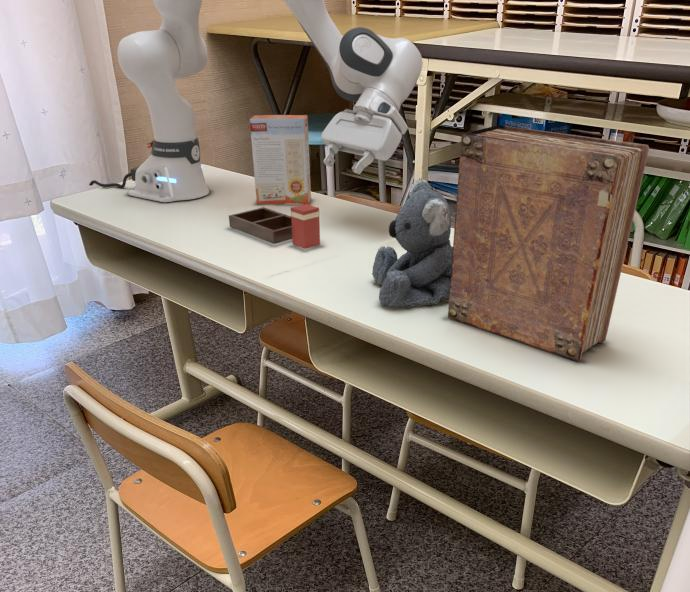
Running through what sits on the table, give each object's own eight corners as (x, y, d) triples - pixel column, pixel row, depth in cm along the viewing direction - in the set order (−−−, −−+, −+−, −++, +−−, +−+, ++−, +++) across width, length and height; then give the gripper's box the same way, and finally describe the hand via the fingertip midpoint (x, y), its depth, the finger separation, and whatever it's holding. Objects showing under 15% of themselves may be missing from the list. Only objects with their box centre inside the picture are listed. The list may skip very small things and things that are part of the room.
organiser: (229, 229, 166) (228, 215, 164) (264, 220, 171) (263, 207, 169) (274, 246, 155) (273, 231, 153) (309, 236, 160) (309, 222, 159)
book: (606, 343, 113) (651, 145, 95) (578, 362, 107) (621, 156, 90) (476, 302, 127) (495, 124, 110) (446, 318, 122) (461, 132, 104)
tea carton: (292, 246, 155) (290, 207, 150) (307, 242, 157) (306, 203, 152) (305, 251, 152) (303, 211, 147) (320, 246, 154) (319, 207, 149)
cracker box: (311, 199, 187) (308, 114, 175) (308, 205, 182) (305, 118, 170) (260, 198, 188) (254, 113, 176) (256, 204, 183) (249, 117, 171)
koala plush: (369, 277, 138) (370, 174, 127) (458, 274, 139) (466, 171, 128) (381, 312, 124) (383, 199, 113) (479, 307, 125) (491, 195, 114)
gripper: (335, 98, 155) (302, 151, 155) (399, 108, 143) (364, 166, 143) (349, 117, 160) (318, 169, 160) (413, 129, 147) (379, 185, 148)
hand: (340, 168), depth 152 cm, fingers open, 8 cm apart
